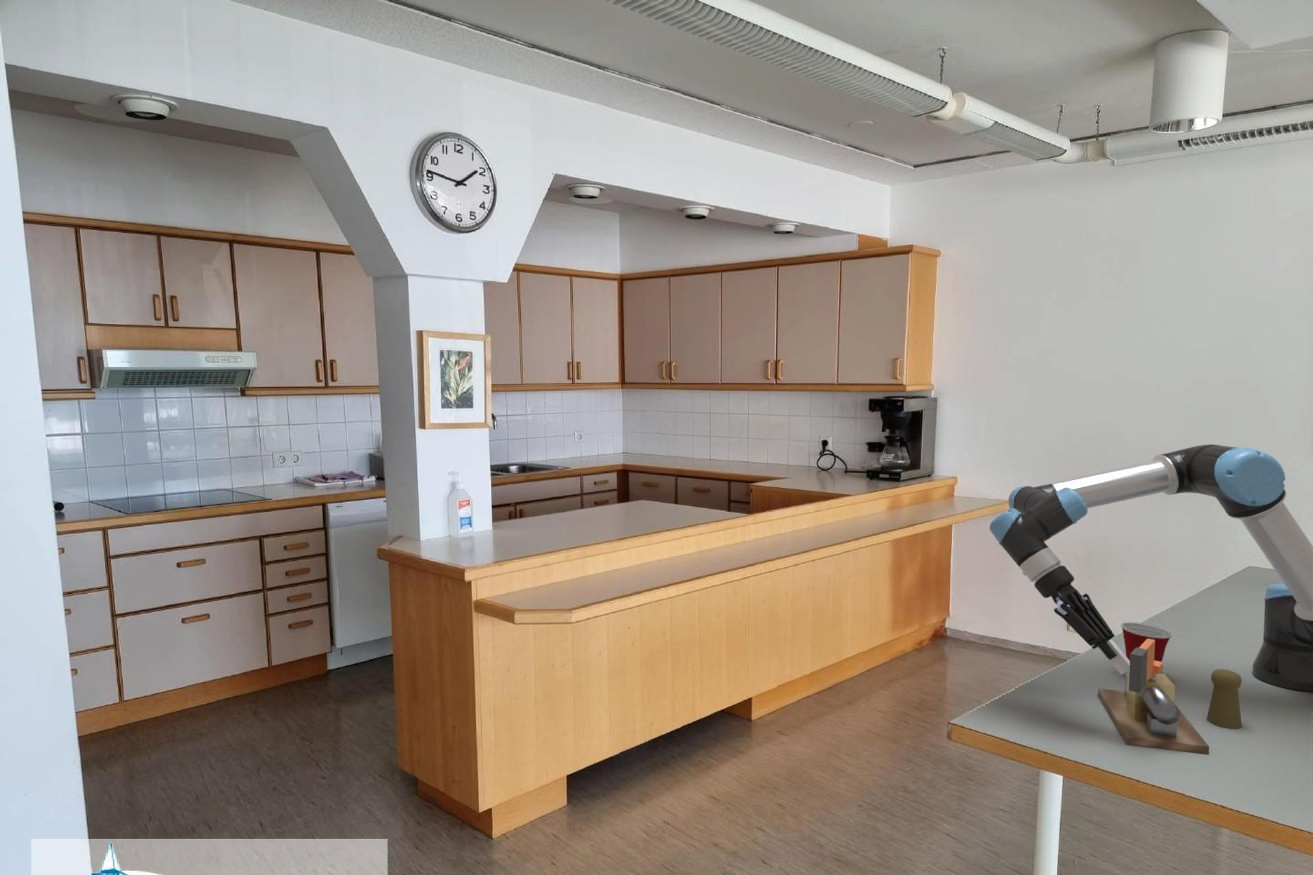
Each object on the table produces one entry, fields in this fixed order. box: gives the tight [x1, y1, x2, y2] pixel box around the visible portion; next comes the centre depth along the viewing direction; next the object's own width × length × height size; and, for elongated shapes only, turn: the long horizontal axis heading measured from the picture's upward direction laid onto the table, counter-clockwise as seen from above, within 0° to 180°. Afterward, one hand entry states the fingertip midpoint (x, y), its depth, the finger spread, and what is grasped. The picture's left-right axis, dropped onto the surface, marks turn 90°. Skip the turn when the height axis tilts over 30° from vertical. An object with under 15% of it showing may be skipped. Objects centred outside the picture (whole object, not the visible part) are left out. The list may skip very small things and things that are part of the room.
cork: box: [1206, 668, 1243, 730], centre depth 169 cm, size 6×6×11 cm
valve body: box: [1124, 670, 1180, 738], centre depth 170 cm, size 7×24×8 cm, turn 162°
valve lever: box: [1129, 639, 1164, 693], centre depth 164 cm, size 16×4×8 cm, turn 138°
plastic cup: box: [1120, 621, 1173, 662], centre depth 196 cm, size 11×11×12 cm
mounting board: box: [1097, 688, 1210, 755], centre depth 170 cm, size 14×26×2 cm, turn 162°
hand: (1127, 670), depth 163 cm, fingers closed
